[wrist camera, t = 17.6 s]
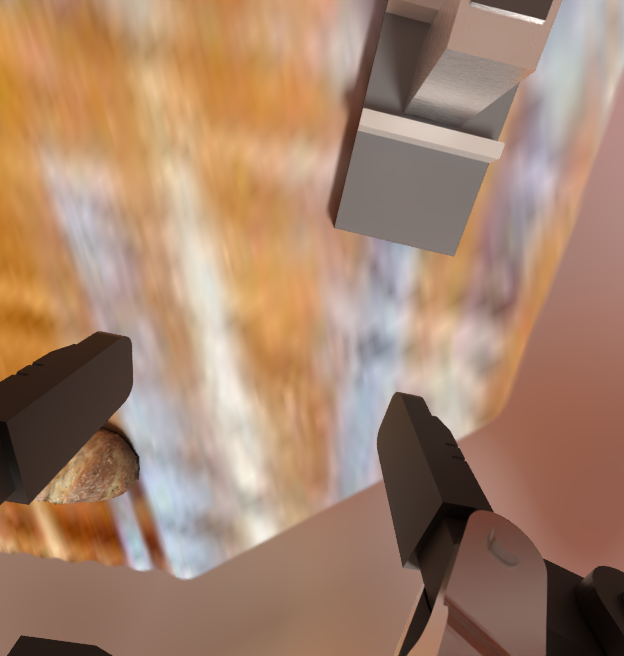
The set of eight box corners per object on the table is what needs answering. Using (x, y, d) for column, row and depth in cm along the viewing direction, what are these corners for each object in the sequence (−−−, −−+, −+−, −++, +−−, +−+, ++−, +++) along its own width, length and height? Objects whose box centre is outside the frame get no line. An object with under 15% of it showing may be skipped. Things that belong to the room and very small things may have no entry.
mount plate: (334, 227, 31) (334, 228, 27) (419, -132, 22) (435, -196, 19) (446, 254, 31) (460, 258, 28) (573, -91, 23) (615, -146, 19)
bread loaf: (151, 384, 40) (96, 425, 31) (172, 491, 45) (130, 555, 36) (-79, 382, 43) (-189, 419, 34) (-37, 483, 48) (-123, 538, 39)
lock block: (403, 113, 26) (447, 47, 16) (422, 41, 24) (485, -81, 14) (459, 127, 26) (536, 69, 16) (482, 56, 24) (584, -55, 15)
